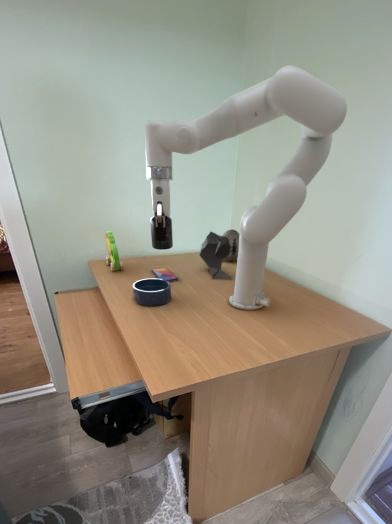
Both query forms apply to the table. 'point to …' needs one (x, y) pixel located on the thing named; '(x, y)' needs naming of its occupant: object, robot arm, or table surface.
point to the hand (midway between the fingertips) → (161, 237)
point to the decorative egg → (232, 244)
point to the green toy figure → (112, 253)
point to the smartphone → (164, 274)
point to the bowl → (152, 292)
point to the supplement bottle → (169, 240)
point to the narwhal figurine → (215, 254)
